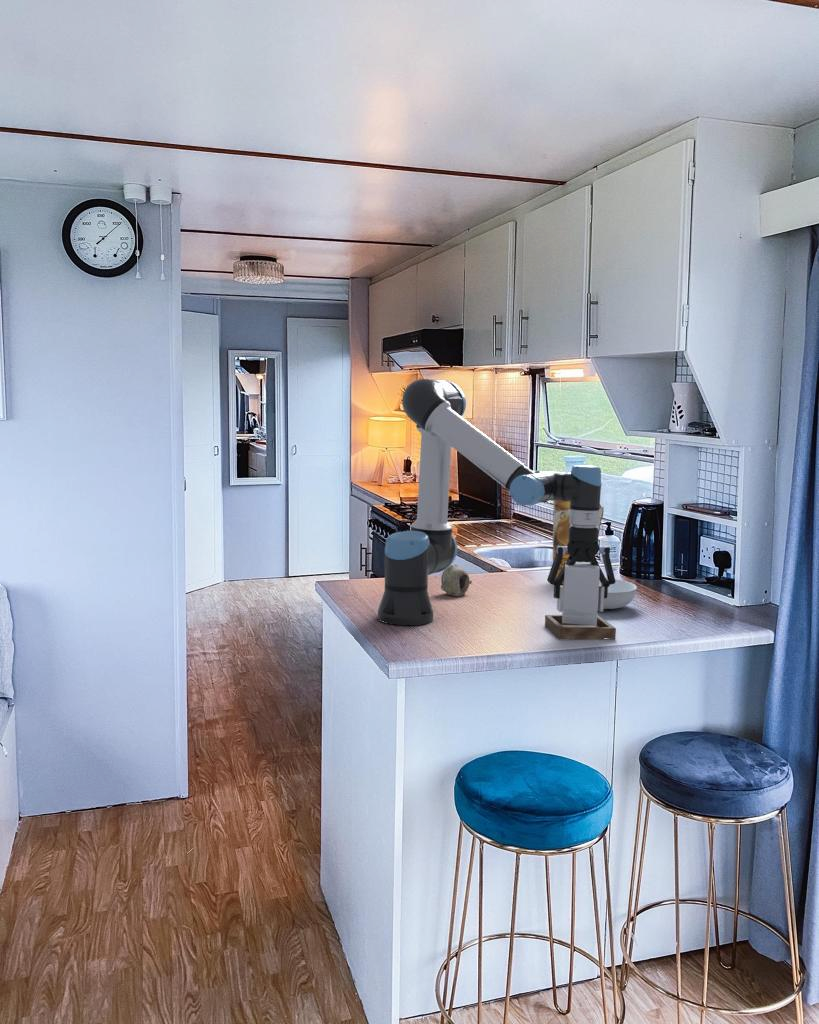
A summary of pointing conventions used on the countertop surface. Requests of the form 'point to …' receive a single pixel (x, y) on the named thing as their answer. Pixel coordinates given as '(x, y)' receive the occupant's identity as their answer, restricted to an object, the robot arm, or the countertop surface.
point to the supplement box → (581, 594)
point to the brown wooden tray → (579, 629)
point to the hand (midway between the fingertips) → (579, 610)
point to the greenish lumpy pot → (455, 581)
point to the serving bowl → (619, 594)
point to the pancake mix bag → (564, 528)
